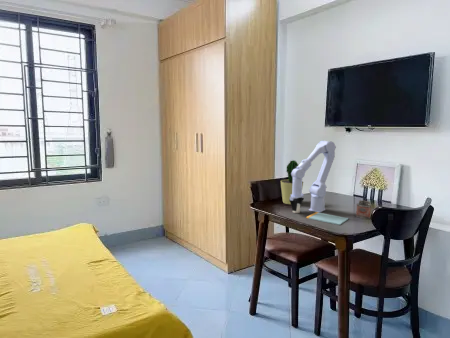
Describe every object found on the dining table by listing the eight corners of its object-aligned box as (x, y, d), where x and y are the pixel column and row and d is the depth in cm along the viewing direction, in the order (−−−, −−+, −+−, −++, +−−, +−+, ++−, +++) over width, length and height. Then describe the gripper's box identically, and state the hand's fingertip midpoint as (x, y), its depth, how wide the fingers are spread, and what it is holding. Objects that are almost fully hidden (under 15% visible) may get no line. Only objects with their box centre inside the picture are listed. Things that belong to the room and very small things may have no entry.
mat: (316, 213, 199) (316, 212, 199) (348, 219, 187) (348, 218, 187) (306, 218, 188) (306, 217, 188) (339, 225, 176) (339, 223, 176)
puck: (294, 210, 204) (294, 202, 203) (301, 212, 201) (301, 204, 200) (291, 212, 201) (291, 204, 200) (297, 213, 198) (298, 205, 197)
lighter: (354, 216, 193) (356, 200, 191) (357, 215, 195) (358, 199, 194) (369, 219, 187) (370, 202, 186) (371, 218, 190) (372, 201, 188)
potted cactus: (287, 198, 236) (288, 157, 231) (306, 202, 226) (308, 159, 221) (275, 202, 224) (276, 159, 220) (295, 206, 214) (297, 161, 210)
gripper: (296, 185, 207) (295, 206, 209) (285, 189, 196) (284, 211, 198) (306, 187, 202) (305, 208, 204) (296, 190, 191) (295, 213, 193)
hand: (296, 209), depth 201 cm, fingers closed on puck, 4 cm apart
